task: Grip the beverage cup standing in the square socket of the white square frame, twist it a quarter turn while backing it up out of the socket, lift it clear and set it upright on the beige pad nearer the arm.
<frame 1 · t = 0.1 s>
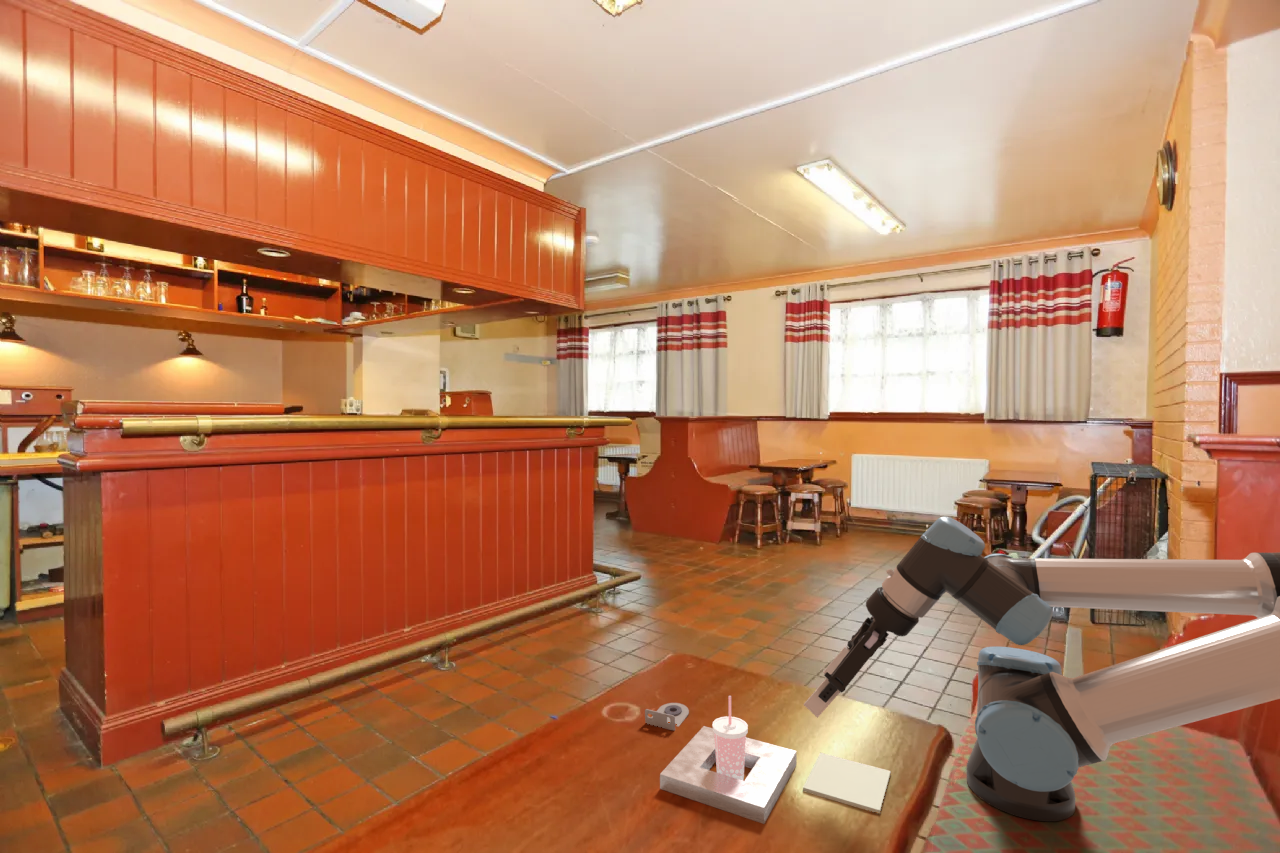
hand: (820, 693, 102), 15 cm above the table, tool tilted 35°, fingers open, 13 cm apart
bracket: (667, 720, 125), on the table
white square frame: (730, 776, 104), on the table
beige pad: (847, 782, 102), on the table
beverage cup: (730, 777, 104), resting in white square frame
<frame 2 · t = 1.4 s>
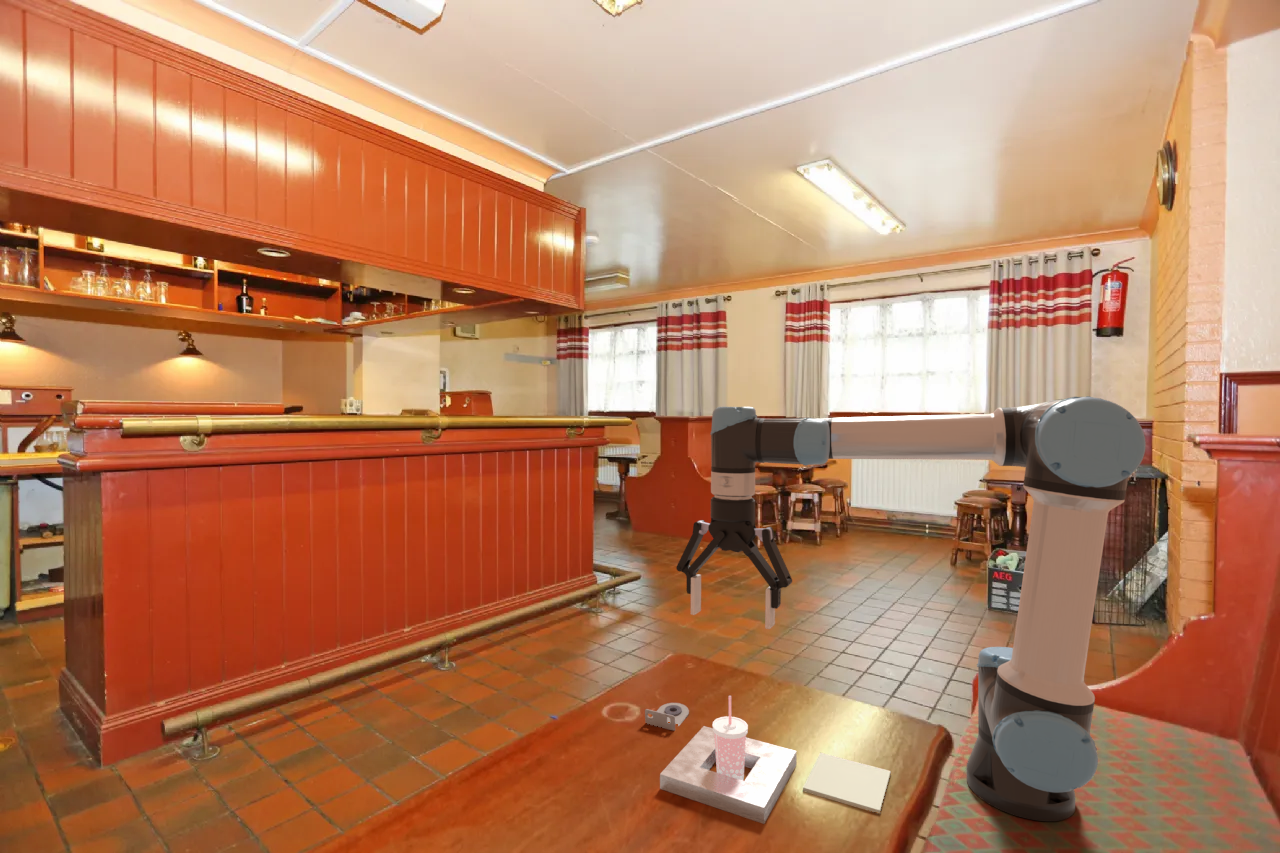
hand: (731, 619, 104), 27 cm above the table, tool pointing down, fingers open, 13 cm apart
nothing on the table moved.
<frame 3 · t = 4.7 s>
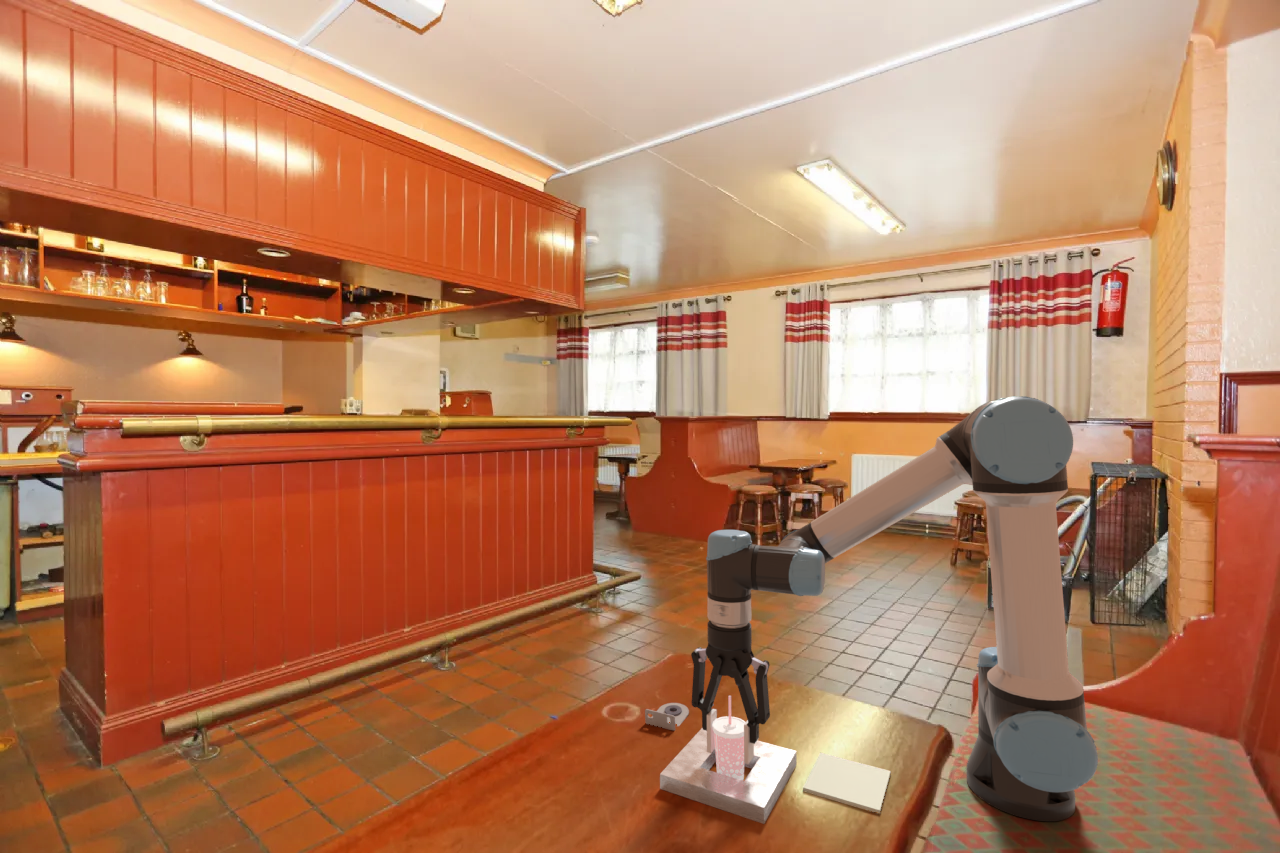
hand: (730, 753, 104), 4 cm above the table, tool pointing down, fingers closed on beverage cup, 6 cm apart
beverage cup: (730, 777, 104), resting in white square frame, touching gripper
everything else where it was.
when the fingers open (6 cm above the table, at t = 11.8 s): beverage cup drops 1 cm, resting on beige pad.
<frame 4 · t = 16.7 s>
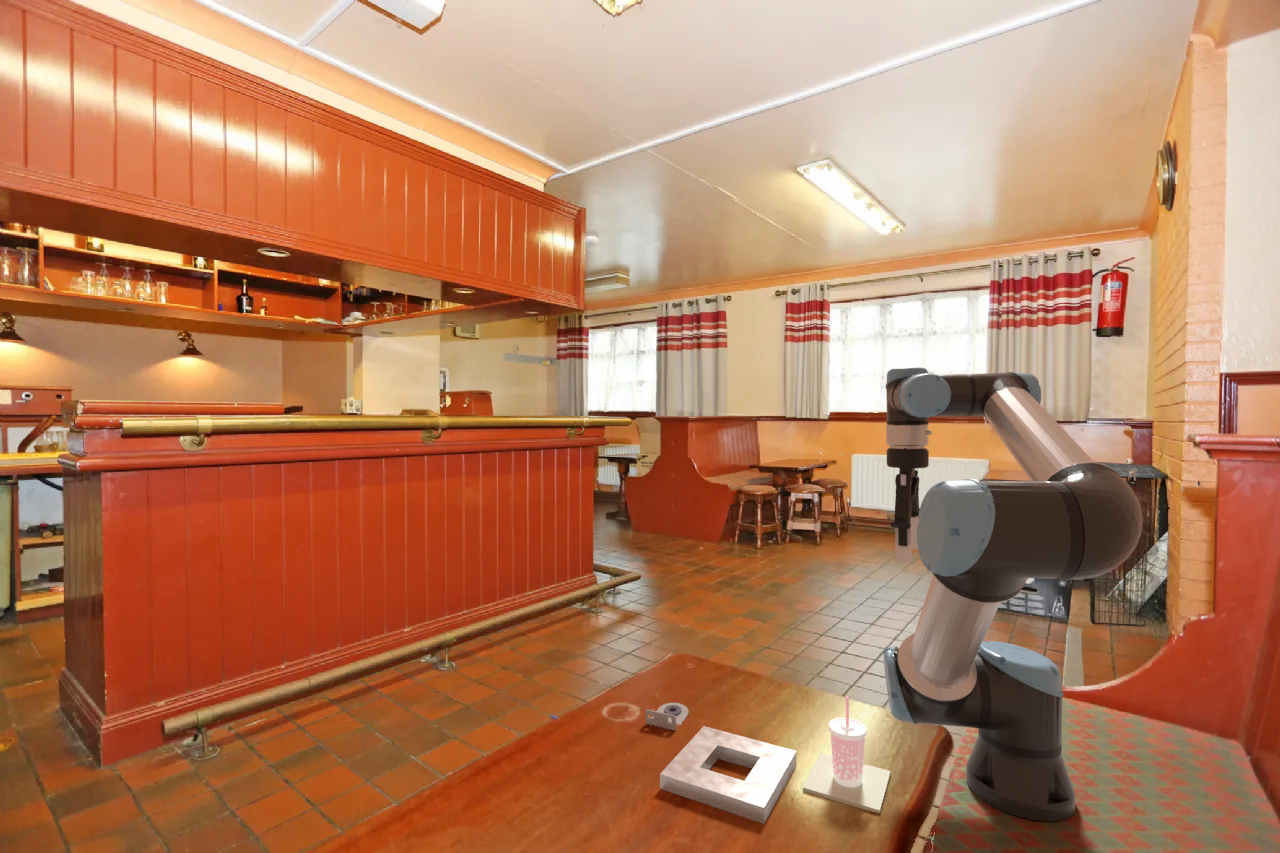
hand: (907, 555, 118), 35 cm above the table, tool pointing down, fingers open, 13 cm apart
beverage cup: (847, 780, 102), resting on beige pad
everything else where it was.
at the end: beverage cup inside the target area on the beige pad (0.0 cm from its centre), point 0.4 cm above the beige pad's base; beverage cup tilted 0°; the gripper is holding nothing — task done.
